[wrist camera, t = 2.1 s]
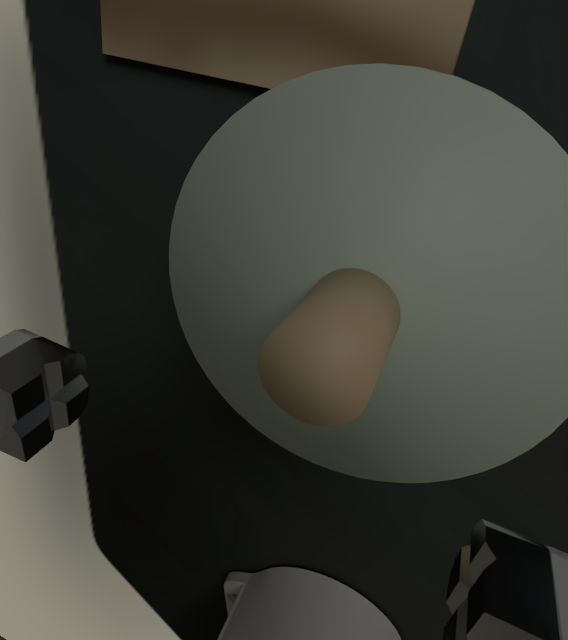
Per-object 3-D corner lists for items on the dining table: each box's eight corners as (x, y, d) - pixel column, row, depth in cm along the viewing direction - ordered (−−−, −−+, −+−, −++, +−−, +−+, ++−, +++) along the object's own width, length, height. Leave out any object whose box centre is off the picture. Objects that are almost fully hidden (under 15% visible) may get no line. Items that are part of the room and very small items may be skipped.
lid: (494, 523, 17) (492, 653, 13) (175, 389, 21) (99, 460, 17) (738, 124, 10) (892, 150, 6) (190, 25, 14) (67, 3, 10)
